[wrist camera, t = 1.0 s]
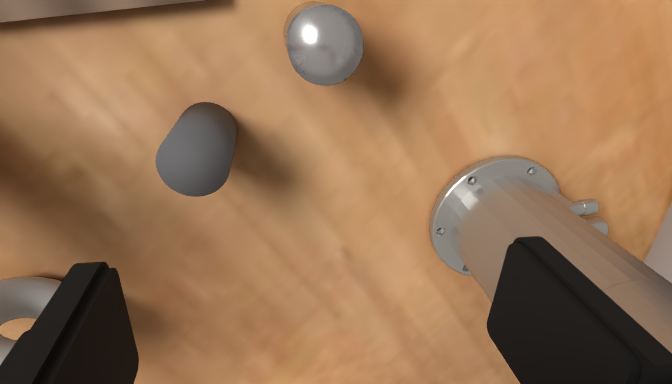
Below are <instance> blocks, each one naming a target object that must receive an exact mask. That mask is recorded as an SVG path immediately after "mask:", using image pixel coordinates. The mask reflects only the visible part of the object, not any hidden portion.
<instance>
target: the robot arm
mask: <svg viewBox="0 0 672 384" xmlns="http://www.w3.org/2000/svg"><path fill="white" fill-rule="evenodd" d="M598 210H599V205H598V202H597V201H596V200H595V199H592V198H591V199H585V200H579V201H577V202H571V201H570V200H568V199H567V198H565V197H564V196H562V195H561V194H560V190H559V186H558V184H557V182H556V180H555V178H554V177H553V176H552V175H551V174H550V172H549V171H548V170H546V169H545V168H544V167H542V166H541V165H539V164H538V163H536V162H534V161H532V160H530V159H528V158H524V157H520V156H506V155H505V156H498V157H492V158H489V159H486V160H483V161H480V162H478V163H476V164H474V165H472V166H470V167H468V168H467V169H465V170H464V171H462V172H461V173H460V174H458V175H457V176H456V177H455V178H454V179H453V180H452V181H451V182H450V183H449V184H448V185H447V186H446V187H445V188H444V190H443V191H442V193H441V194H440V195H439V197H438V199H437V201H436V203H435V205H434V207H433V210H432V214H431V217H430V226H429V233H430V239H431V242H432V245H433V247H434V250H435V251H436V253H437V254H438V256H439V257H440V259H441V260H442V261H443V262H444V263H445V264H446V265H447V266H448V267H450V268H451V269H453V270H455V271H457V272H459V273H462V274H465V275H471V276H473V277H474V278H475V280H476V281H477V283H478V284H479V285H480V287H481V288H482V290H483V291H484V292H485V294H486V295H487V297H488V298H489V300H490V301H491V302H492V306H491V309H490V313H489V317H488V320H487V330H488V333H489V335H490V337H491V339H492V340H493V342H494V343H495V345H496V347H497V348H498V350H499V351H500V353H501V354H502V356H503V357H504V359H505V360H506V362H507V363H508V365H509V367H510V368H511V370H512V371H513V373H514V374H515V376H516V377H517V379H518V380H519V382H520V384H672V283H670V282H669V281H668V280H666V279H665V278H664V277H662V276H661V275H659V274H658V273H657V272H655V271H654V270H653V269H651V268H650V267H648V266H647V265H646V264H644V263H643V262H642V261H640V260H639V259H638V258H636V257H635V256H633V255H632V254H631V253H629V252H628V251H627V250H625V249H624V248H623V247H621V246H620V245H618V244H617V243H616V242H614V241H613V240H612V239H610V238H609V237H607V233H608V226H607V224H606V222H605V221H604V220H603V219H602V218H599V217H597V218H591V219H585V220H584V219H583V218H582V217H580V216H579V215H582V216H583V215H589V214H595V213H597V212H598ZM138 363H139V358H138V352H137V348H136V344H135V340H134V336H133V332H132V327H131V323H130V319H129V315H128V311H127V307H126V303H125V299H124V295H123V291H122V287H121V283H120V279H119V275H118V271H117V270H116V268H109V266H108V265H107V263H106V262H92V263H77V264H74V265H73V266H72V267H71V269H70V270H69V272H68V273H67V275H66V276H65V278H64V279H63V281H62V282H61V284H60V285H59V287H58V288H57V290H56V291H55V293H54V294H53V296H52V297H51V299H50V300H49V302H48V303H47V305H46V306H45V308H44V309H43V311H42V312H41V314H40V315H39V317H38V318H37V320H36V321H35V323H34V324H33V326H32V327H31V329H30V330H28V331H26V332H24V333H23V334H22V335H21V336H20V338H19V339H18V340H17V341H16V343H15V344H14V346H13V347H12V349H11V350H10V352H9V353H8V355H7V356H6V357H5V359H4V360H3V362H2V363H1V365H0V384H134V381H135V377H136V374H137V371H138Z"/></svg>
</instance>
